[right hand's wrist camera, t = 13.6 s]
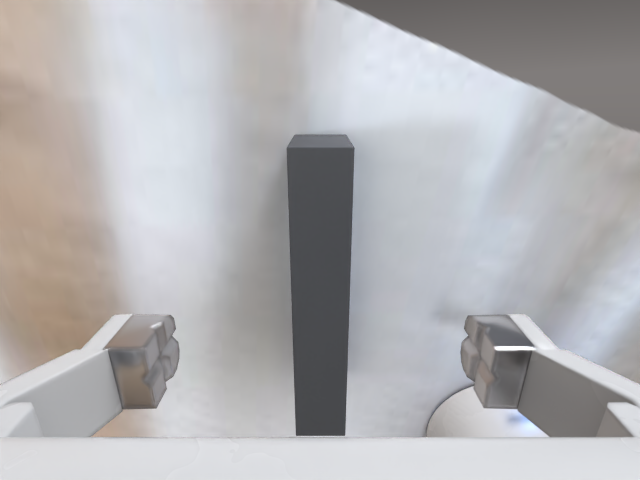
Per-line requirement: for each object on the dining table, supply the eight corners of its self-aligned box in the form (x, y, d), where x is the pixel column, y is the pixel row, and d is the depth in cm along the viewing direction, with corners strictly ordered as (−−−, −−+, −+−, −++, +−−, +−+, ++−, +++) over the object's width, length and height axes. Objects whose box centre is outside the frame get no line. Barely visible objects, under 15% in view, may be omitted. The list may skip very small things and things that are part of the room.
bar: (294, 134, 32) (286, 147, 25) (346, 134, 32) (354, 147, 25) (300, 374, 42) (295, 436, 34) (340, 374, 42) (345, 435, 34)
